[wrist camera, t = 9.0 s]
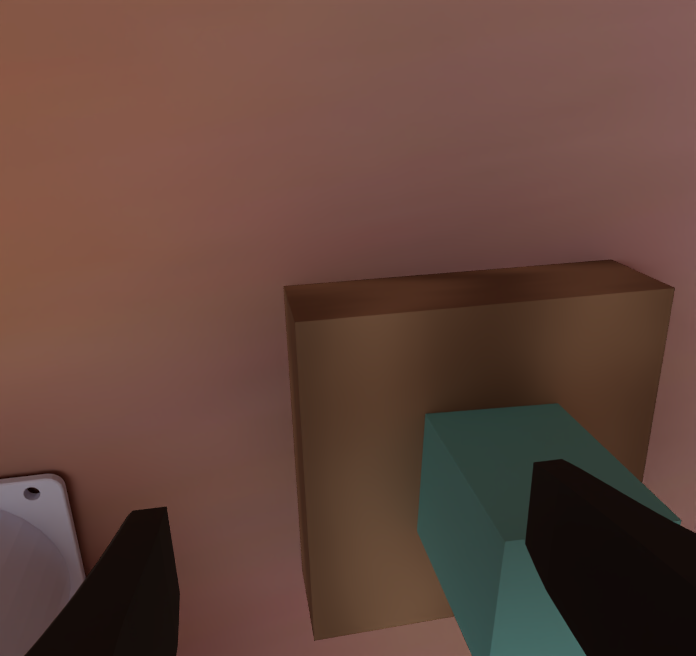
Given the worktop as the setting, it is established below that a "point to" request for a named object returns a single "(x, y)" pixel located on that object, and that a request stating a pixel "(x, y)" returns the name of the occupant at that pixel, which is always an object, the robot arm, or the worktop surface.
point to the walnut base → (446, 405)
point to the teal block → (503, 519)
